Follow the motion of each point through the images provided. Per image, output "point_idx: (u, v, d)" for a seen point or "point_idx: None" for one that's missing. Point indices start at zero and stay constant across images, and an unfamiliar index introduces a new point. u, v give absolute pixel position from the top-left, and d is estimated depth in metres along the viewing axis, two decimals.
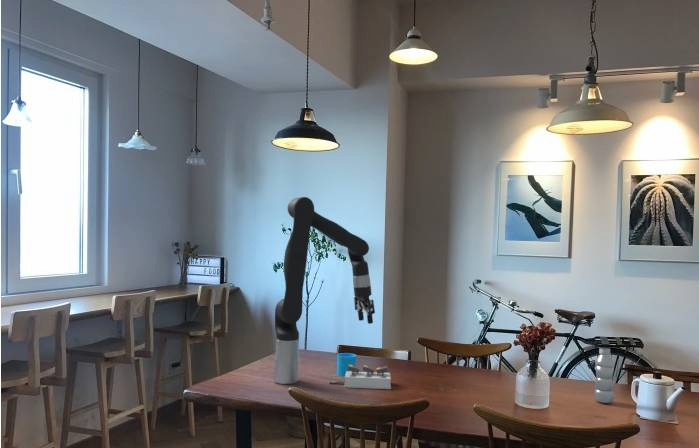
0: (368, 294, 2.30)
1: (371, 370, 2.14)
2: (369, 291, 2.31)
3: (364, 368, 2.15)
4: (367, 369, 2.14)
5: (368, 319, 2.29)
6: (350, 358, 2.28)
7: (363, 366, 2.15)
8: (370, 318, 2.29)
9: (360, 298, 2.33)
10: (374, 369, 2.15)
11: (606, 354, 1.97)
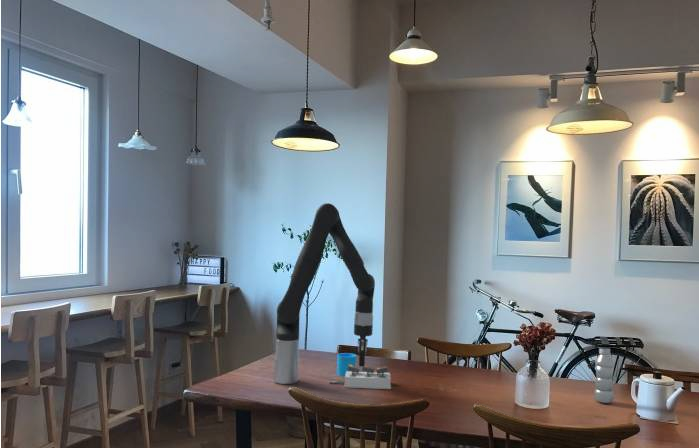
0: (365, 334, 2.13)
1: (371, 370, 2.14)
2: (367, 331, 2.13)
3: (363, 369, 2.15)
4: (367, 369, 2.14)
5: (359, 361, 2.16)
6: (350, 358, 2.28)
7: (363, 366, 2.15)
8: (361, 360, 2.15)
9: None
10: (373, 368, 2.15)
11: (606, 354, 1.97)
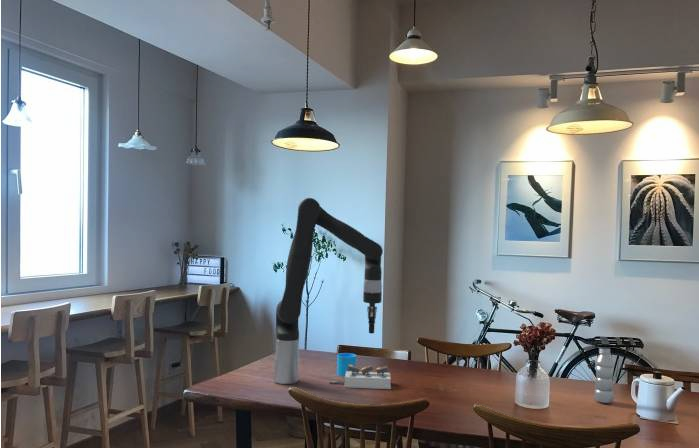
0: (374, 301, 2.16)
1: (369, 368, 2.14)
2: (376, 298, 2.17)
3: (362, 371, 2.14)
4: (365, 370, 2.14)
5: (369, 328, 2.19)
6: (350, 358, 2.28)
7: (361, 370, 2.15)
8: (370, 327, 2.19)
9: None
10: (371, 365, 2.15)
11: (606, 354, 1.97)
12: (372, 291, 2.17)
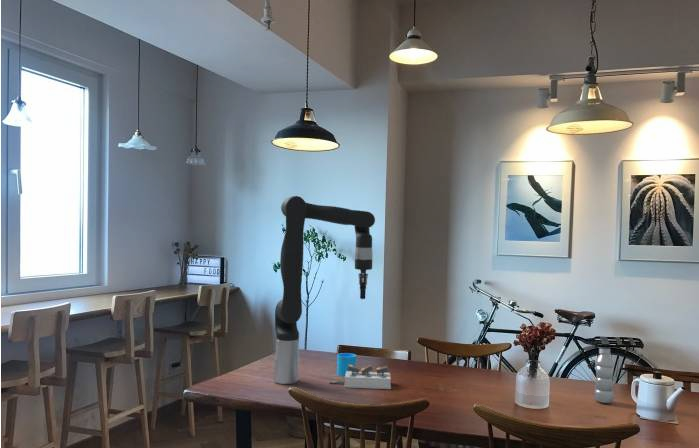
0: (365, 267, 2.25)
1: (369, 368, 2.14)
2: (367, 265, 2.26)
3: (362, 372, 2.14)
4: (365, 370, 2.14)
5: (360, 294, 2.28)
6: (350, 358, 2.28)
7: (361, 371, 2.15)
8: (362, 293, 2.27)
9: None
10: (370, 365, 2.15)
11: (606, 354, 1.97)
12: (363, 258, 2.25)
